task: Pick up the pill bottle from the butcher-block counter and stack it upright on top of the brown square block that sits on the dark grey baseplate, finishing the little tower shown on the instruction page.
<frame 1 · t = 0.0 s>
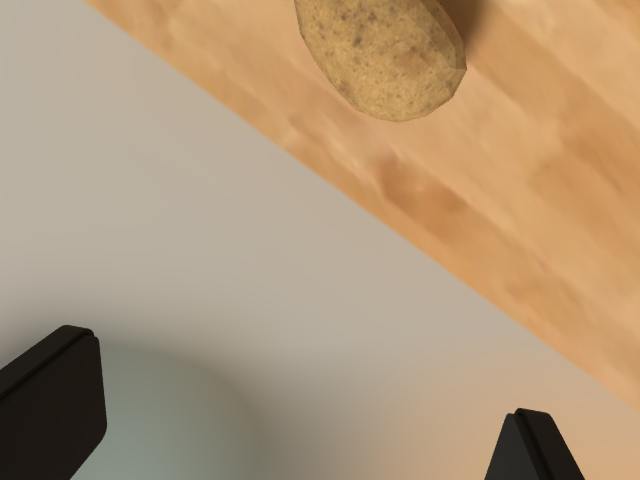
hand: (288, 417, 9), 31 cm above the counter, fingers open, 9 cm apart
potato: (377, 47, 35), on the counter
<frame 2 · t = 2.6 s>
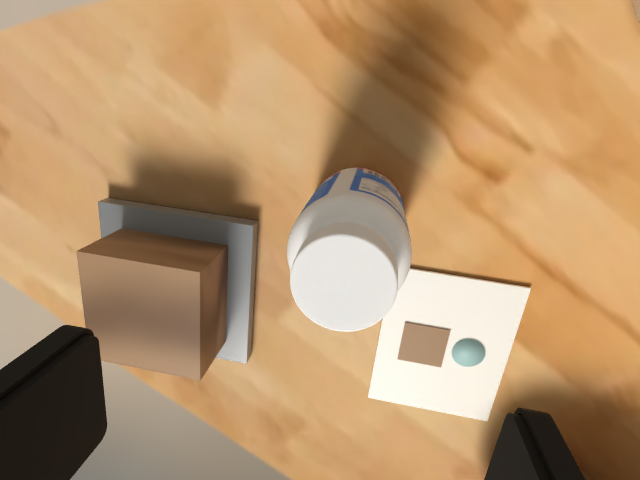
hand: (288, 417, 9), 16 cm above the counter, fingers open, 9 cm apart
brown square block: (175, 286, 26), point 1 cm above the counter, touching baseplate
baseplate: (182, 279, 27), on the counter
instruction page: (441, 346, 26), on the counter
pill bottle: (358, 210, 24), on the counter
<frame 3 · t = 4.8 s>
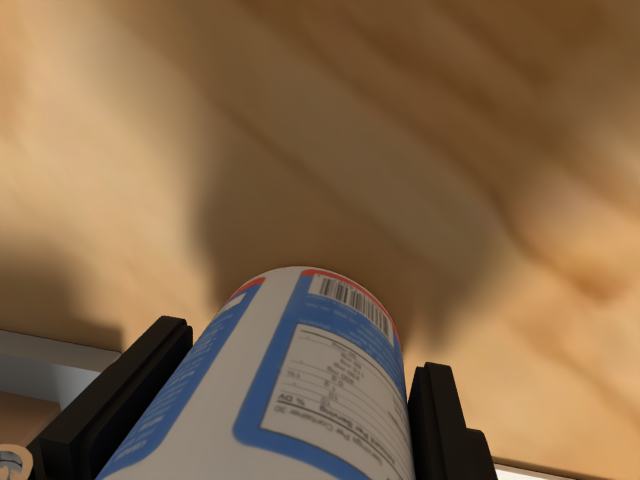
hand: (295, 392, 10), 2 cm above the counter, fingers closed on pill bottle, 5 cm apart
baseplate: (4, 440, 15), on the counter
pill bottle: (311, 342, 12), on the counter, touching gripper
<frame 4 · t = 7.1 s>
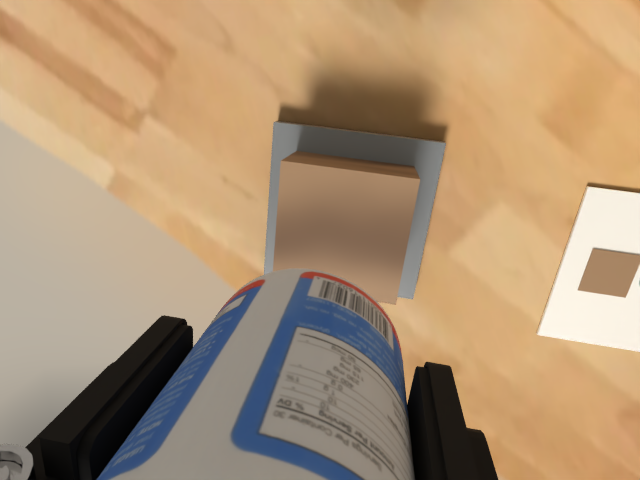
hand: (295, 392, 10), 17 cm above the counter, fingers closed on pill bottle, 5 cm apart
brown square block: (346, 215, 25), point 1 cm above the counter, touching baseplate
baseplate: (348, 210, 26), on the counter
instruction page: (627, 274, 25), on the counter
pill bottle: (310, 344, 12), point 15 cm above the counter, touching gripper
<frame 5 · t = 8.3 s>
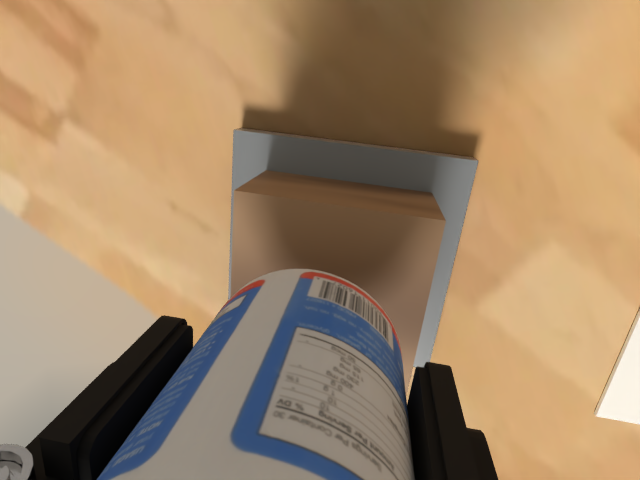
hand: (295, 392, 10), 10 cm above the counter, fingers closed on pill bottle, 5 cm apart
brown square block: (337, 257, 18), point 1 cm above the counter, touching baseplate
baseplate: (339, 249, 19), on the counter
pill bottle: (310, 344, 12), point 8 cm above the counter, touching gripper
when the fingers open (8 cm above the counter, at t = 9.4 s): pill bottle drops 1 cm, resting on brown square block.
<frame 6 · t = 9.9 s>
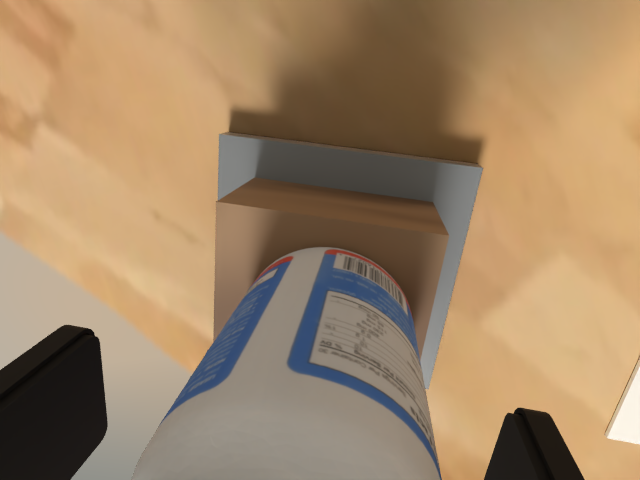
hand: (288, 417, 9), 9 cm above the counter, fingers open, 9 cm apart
brown square block: (331, 271, 17), point 1 cm above the counter, touching baseplate, pill bottle
baseplate: (334, 261, 18), on the counter
pill bottle: (330, 317, 13), point 5 cm above the counter, touching brown square block
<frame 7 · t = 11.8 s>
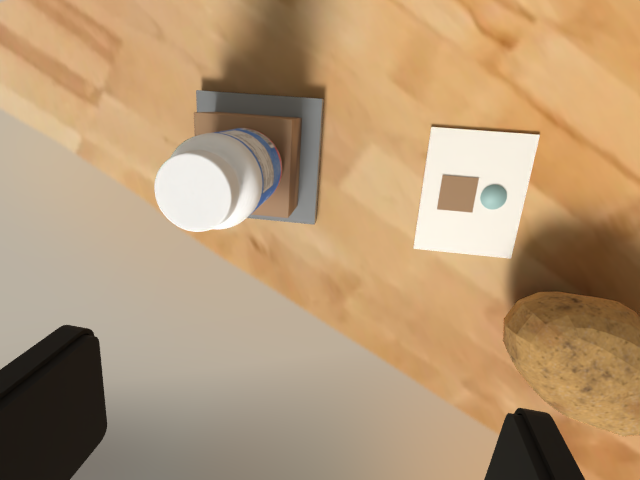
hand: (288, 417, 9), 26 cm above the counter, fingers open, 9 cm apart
brown square block: (257, 159, 33), point 1 cm above the counter, touching baseplate, pill bottle
potato: (559, 327, 35), on the counter
baseplate: (260, 158, 34), on the counter
instruction page: (472, 194, 33), on the counter
pill bottle: (248, 165, 29), point 5 cm above the counter, touching brown square block
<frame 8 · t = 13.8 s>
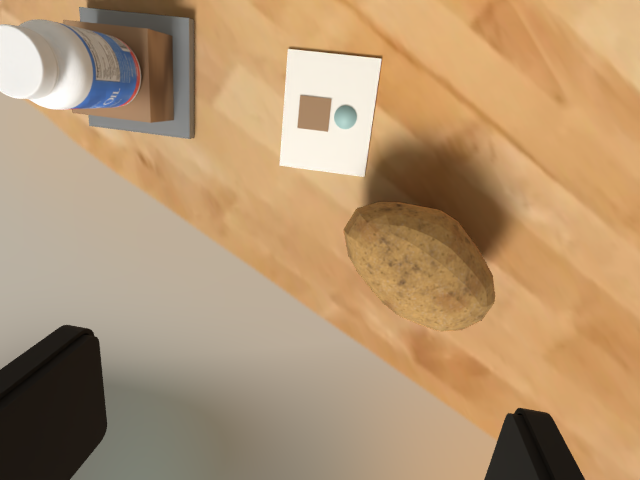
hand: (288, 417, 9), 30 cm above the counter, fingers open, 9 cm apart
brown square block: (136, 75, 36), point 1 cm above the counter, touching baseplate, pill bottle
potato: (412, 244, 39), on the counter
baseplate: (142, 75, 37), on the counter
instruction page: (327, 115, 36), on the counter
pill bottle: (114, 72, 33), point 5 cm above the counter, touching brown square block
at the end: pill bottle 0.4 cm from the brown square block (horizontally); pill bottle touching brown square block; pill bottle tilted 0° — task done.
